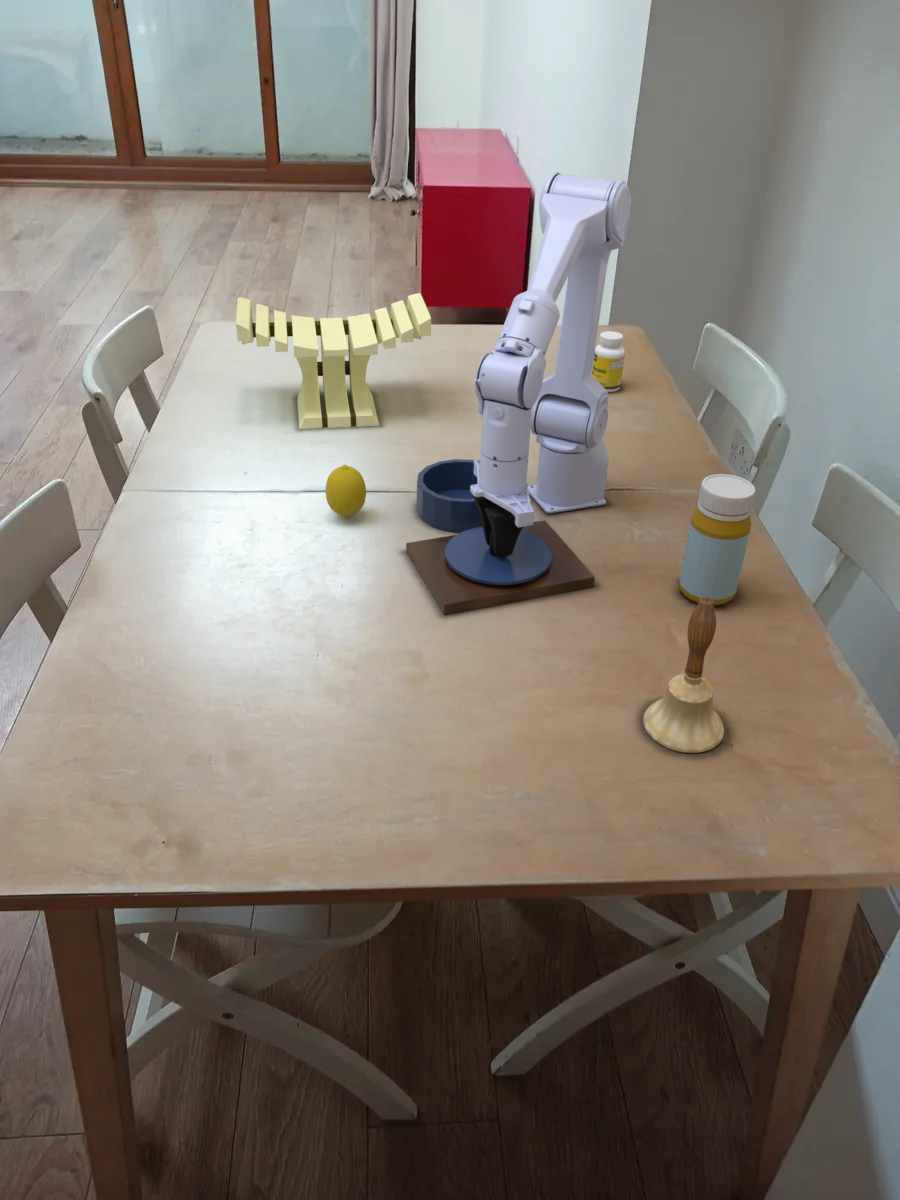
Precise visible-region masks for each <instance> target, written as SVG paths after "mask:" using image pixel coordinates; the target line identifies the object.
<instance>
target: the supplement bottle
mask: <svg viewBox="0 0 900 1200" xmlns="http://www.w3.org/2000/svg"><path fill="white" fill-rule="evenodd" d="M623 341H624V335H623V334H622V333H620V332H618V331H611V330H608V331H602V332H601V333H600V335H599V344H597V345H595V352H594V358H593V365H592V372H591V374H592V376H593V377H594V378H595V379H596V380H597V381H598V382H599V383H600V384H601V385H602V386H603V387H604V388H605V389H606V390H607V392H608V393H614V392H617V391H619V390H620V389H621V387H622V380H623V372H624V363H625V357H626V350H625V348H624V346H622V345H623Z"/></svg>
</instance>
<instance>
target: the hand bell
mask: <svg viewBox="0 0 900 1200" xmlns="http://www.w3.org/2000/svg"><path fill="white" fill-rule="evenodd" d="M716 628H717V615H716V609H715V606H714V601H713V599H712V598H710V597H702V598H700V601H699V603H697V604H696V606H695V608H694V609H693V610H692V612H691V615H690V617H689V621H688V625H687V643H688V656H687V661H686V665H685V668H684V673H680V674H677V675H675V676H674V677H672V678H671V679H670V680H669V682H668V685H667V687H666V691H665V693H664V695H663V696H662V698H660V699H658V700H655V701H654V702H653V703H651V704H650V705H649V706H648V707H647V708H646V710H645V711H644V713H643V718H642V723H643V727H644V730H645V731H646V733H647V735H648V736H649V737H650V738H651V739H652V740H653V741H655V742H656V743H657V744H659V745H661V746H663V747H664V748H666V749H668V750H671V751H674V752H677V753H683V754H699V753H700V754H701V753H705V752H708V751H711V750H713V749H715V748H716V747H717V746H718V745H720V744H721V742H722V741H723V739H724V736H725V727H724V723H723V721H722V719H721V717H720V715H719V714H718V713H717V712H716V711H715V710H714V689H713V686H712V684H711V683H710V682H709V680H707V679H706V678H704V677H703V671H704V663H705V656H706V654H707V651H708V649H709V648H710V646H711V645H712V643H713V640H714V637H715V633H716Z"/></svg>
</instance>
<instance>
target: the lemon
mask: <svg viewBox="0 0 900 1200" xmlns="http://www.w3.org/2000/svg"><path fill="white" fill-rule="evenodd" d="M366 497H367V486H366V483H365V480H364V477H363V475H362V473H361V472H360V471H359V470H357V469H356V468H355V467H352V466H349V465H347V464H343V465H342V466H338V467H336V468H335V469H332V471H331V472H330V473H329V474H328V477H327V479H326V483H325V498H326V499H325V500H326V502H327V504H328V507H329V508H330V510H331V511H333V512H334V513H335V514H337V515H339V516H342V517H344V518H346V519H347V518H348V519H349V518H350V517H351V516H353V515H356V514H357V513H358V512H359V511H361V510H362V508H363V507H364V505H365V503H366Z"/></svg>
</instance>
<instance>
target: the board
mask: <svg viewBox="0 0 900 1200" xmlns="http://www.w3.org/2000/svg"><path fill="white" fill-rule="evenodd" d="M522 530H524V531H527V532H530V533H532V534H534V535H536V536H538V537H539V538H541V539H542V540H543V541H544V542H545V543H546V544H547V545H548V546H549V548H550V550H551V554H552V560H551V564H550V566H549V568H548V569H547V571H546V572H545V573H543V574H542V575H541V576H539V577H537V578H535V579H533V580H530V581H527V582H524V583H519V584H512V585H493V584H485V583H481V582H476V581H473V580H470V579H468V578H465V577H463V576H461V575H460V574H458V573H457V572H455V571H454V570H453V569H452V568H451V567H450V566H449V565H448V563H447V561H446V558H445V549H446V546H447V544H448V542H449V541H450V540H451V539H452V538H453V537H454V536H456V535H457V534H453V535H446V536H441V537H434V538H429V539H423V540H417V541H416V540H415V541H410V542H406V543H405V552H406V554H407V556H408V558H409V560H410V562H412V565H413V566H414V568H415V569H416V572H418V574H419V576H420V577H421V579H422V581H423V582H424V584H425V586H426V587H427V589H428V592H430V594H431V596H432V597H433V599H434V601H435V602H436V604H437V605H438V608H439V609H440V610H441V612H442V614H443V615H444V616H446V615H451V614H456V613H462V612H468V611H473V610H478V609H484V608H488V607H494V606H499V605H504V604H511V603H514V602H520V601H526V600H530V599H536V598H540V597H546V596H552V595H557V594H563V593H567V592H573V591H578V590H583V589H589V588H593V587H594V586H595V578H596V577H595V576H594V574H593V573H592V572H591V570H589V569H588V567H586V565H585V564H584V563H583V561H581V559H579V557H578V556H577V555H576V554H575V553H574V552H573V550H572V549H571V548H570V546H568V544H567V543H566V541H564V540H563V539H562V538H561V537H560V536H559V534H558V533H557V532H556V530H554V529H553V527H552V526H551V525H550V524H549V522H548V521H546V520H545V519H543V520H539V521H538V520H537V521H533V525H530V526H525V527H523V528H522Z"/></svg>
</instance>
